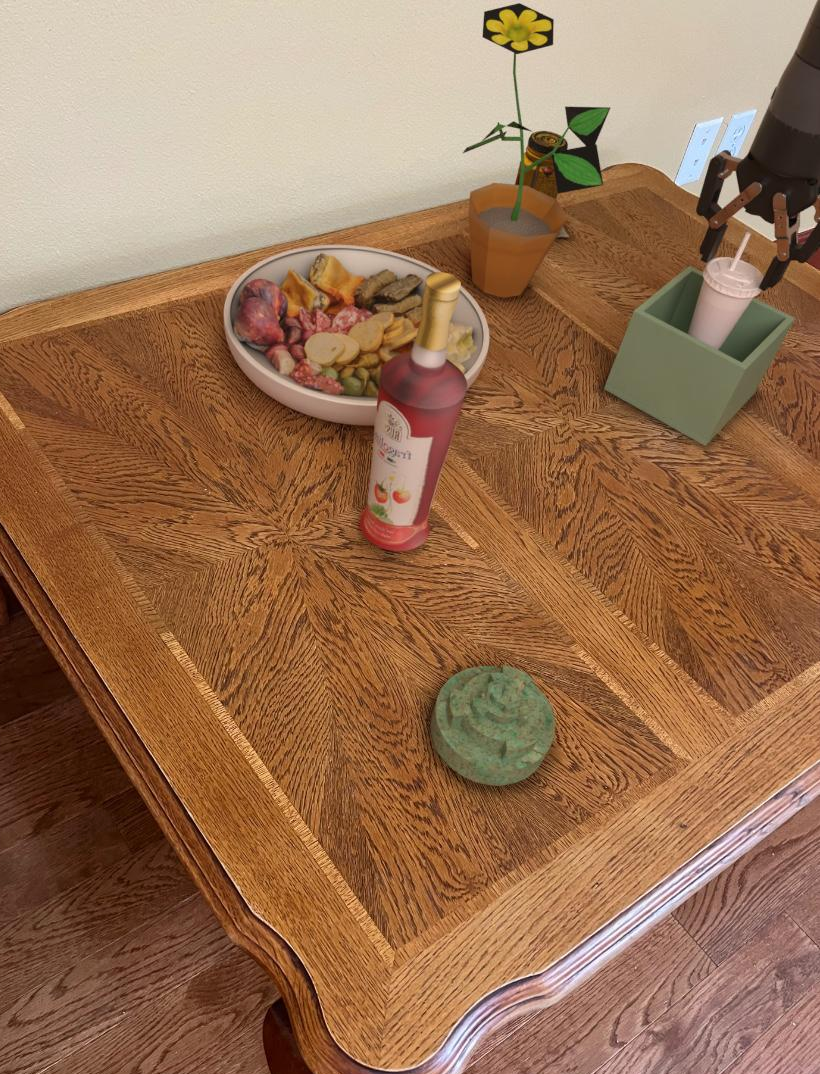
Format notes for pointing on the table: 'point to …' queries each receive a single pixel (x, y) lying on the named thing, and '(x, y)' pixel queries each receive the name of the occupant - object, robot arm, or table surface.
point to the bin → (693, 360)
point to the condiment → (542, 165)
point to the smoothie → (724, 297)
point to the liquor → (414, 425)
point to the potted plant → (516, 210)
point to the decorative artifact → (492, 725)
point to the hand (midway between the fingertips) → (735, 272)
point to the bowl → (338, 327)
